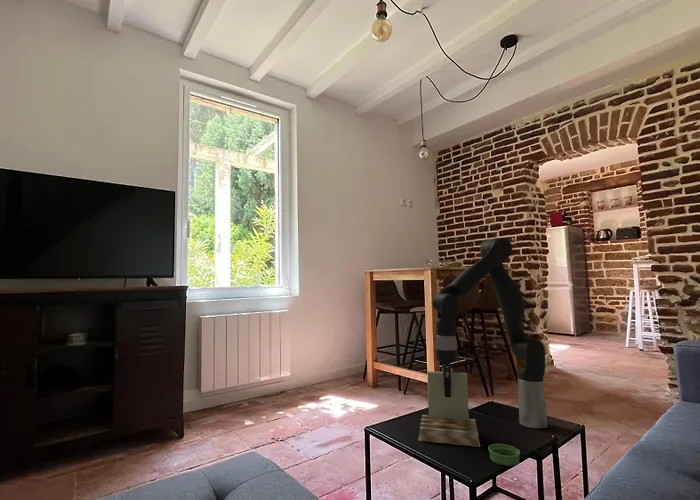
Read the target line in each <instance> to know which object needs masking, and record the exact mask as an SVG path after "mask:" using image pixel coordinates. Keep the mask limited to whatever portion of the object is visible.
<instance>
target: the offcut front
mask: <svg viewBox="0 0 700 500" xmlns="http://www.w3.org/2000/svg"><path fill="white" fill-rule="evenodd" d="M433 428H438V429H448V430H458V426H457V424H446V423H434V422H433Z"/></svg>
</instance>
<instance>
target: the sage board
mask: <svg viewBox="0 0 700 500" xmlns="http://www.w3.org/2000/svg"><path fill="white" fill-rule="evenodd" d="M445 382H448V383H450V382H449V381H445ZM468 386H469V385H468V373H466V372H454V371H453V372H452V380H451V397H445V387H444V380H443V376H442V371H429V370H428V371H427V398H428V399H427V400H428V402H427V404H428V407H427V408H428V416H429V417H430V418H443V419H456V420H468V421H469V419H470V416H469V414H470V413H469V395H468V394H469V391H468V390H469V389H468V388H469V387H468Z"/></svg>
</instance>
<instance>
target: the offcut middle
mask: <svg viewBox="0 0 700 500" xmlns="http://www.w3.org/2000/svg"><path fill="white" fill-rule="evenodd" d="M439 422H440V423H446V424H457V426H463V421H458V420H447V419H440V420H439Z"/></svg>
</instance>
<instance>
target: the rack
mask: <svg viewBox="0 0 700 500" xmlns="http://www.w3.org/2000/svg"><path fill="white" fill-rule="evenodd" d="M440 419H443V418H430V417H429V414H427V415H426V414H421V421H420V426H419V435H418V439H417V440H418V442H419V441H420V442H428V443H429V442H430V443H437V444H438V443H440V444H447V445H448V444H449V445H456V446H466V447H467V446H469V447H479V448H480V447H481V444H480V439H479V432H478V427H477V423H476V419H473V418H469V421H468V420H458V421H463V426H458V430H448V429H438V428H433V422H434V423H440V422H439V420H440ZM447 420H456V419H447Z"/></svg>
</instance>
